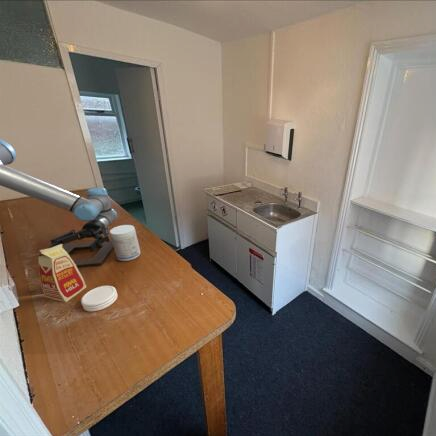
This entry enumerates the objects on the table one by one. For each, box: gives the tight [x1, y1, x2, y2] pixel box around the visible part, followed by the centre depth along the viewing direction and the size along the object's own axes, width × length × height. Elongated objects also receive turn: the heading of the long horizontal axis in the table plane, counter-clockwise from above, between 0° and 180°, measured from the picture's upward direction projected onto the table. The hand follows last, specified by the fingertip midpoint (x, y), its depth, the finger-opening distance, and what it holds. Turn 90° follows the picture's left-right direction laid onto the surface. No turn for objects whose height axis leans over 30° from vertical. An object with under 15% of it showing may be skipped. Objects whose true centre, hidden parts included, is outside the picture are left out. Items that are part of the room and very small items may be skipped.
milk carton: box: [37, 244, 87, 303], centre depth 84 cm, size 9×9×20 cm
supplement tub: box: [109, 224, 141, 262], centre depth 108 cm, size 10×10×15 cm
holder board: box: [62, 240, 115, 269], centre depth 109 cm, size 22×20×2 cm
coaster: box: [80, 285, 118, 312], centre depth 84 cm, size 10×10×4 cm
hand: (70, 250), depth 91 cm, fingers open, 13 cm apart
